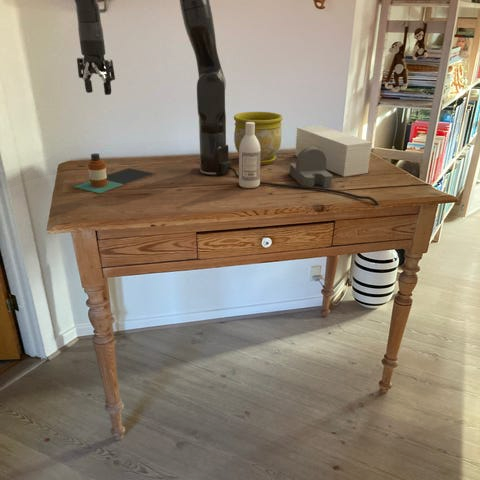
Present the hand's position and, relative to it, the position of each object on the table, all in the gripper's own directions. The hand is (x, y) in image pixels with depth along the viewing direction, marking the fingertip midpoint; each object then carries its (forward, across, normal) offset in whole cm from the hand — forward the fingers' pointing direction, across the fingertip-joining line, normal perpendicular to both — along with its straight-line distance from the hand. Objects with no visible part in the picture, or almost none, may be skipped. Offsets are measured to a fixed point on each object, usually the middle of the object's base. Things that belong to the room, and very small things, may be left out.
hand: (98, 93), depth 174 cm
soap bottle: (+26, -10, +14) cm, 31 cm away
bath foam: (+26, -51, -14) cm, 59 cm away
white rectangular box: (+26, -62, -53) cm, 86 cm away
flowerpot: (+26, -37, -42) cm, 62 cm away
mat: (+26, -10, +7) cm, 29 cm away
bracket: (+26, -65, -31) cm, 77 cm away
